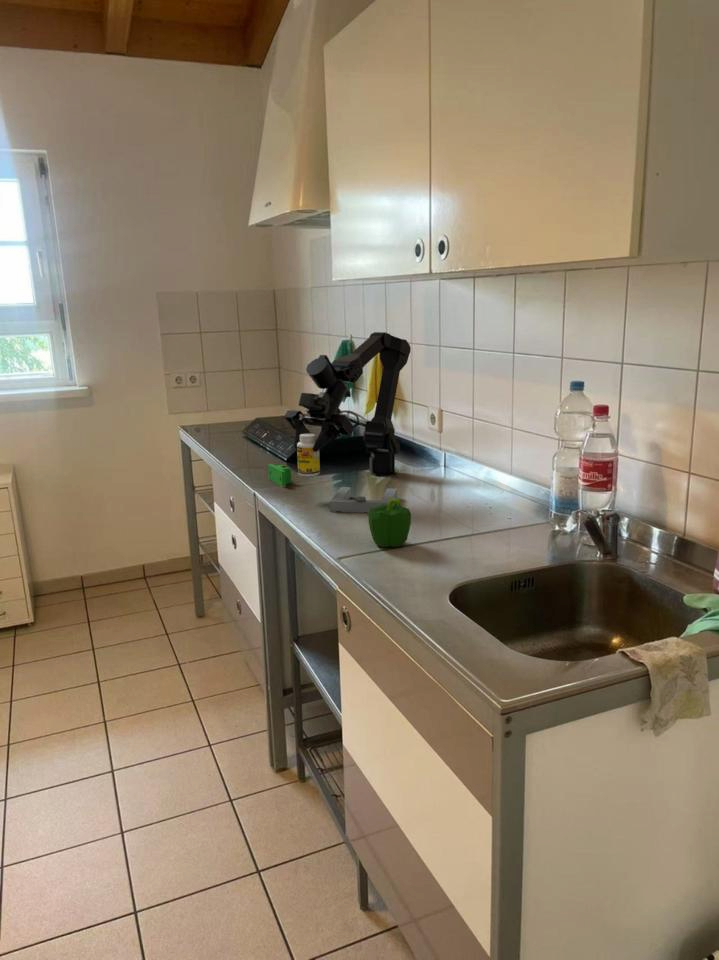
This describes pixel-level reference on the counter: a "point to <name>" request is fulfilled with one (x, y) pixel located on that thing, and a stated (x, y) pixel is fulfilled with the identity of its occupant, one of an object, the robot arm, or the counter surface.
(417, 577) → the counter surface
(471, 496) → the counter surface
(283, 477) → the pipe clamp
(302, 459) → the supplement bottle
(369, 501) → the housing cradle
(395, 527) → the bell pepper
